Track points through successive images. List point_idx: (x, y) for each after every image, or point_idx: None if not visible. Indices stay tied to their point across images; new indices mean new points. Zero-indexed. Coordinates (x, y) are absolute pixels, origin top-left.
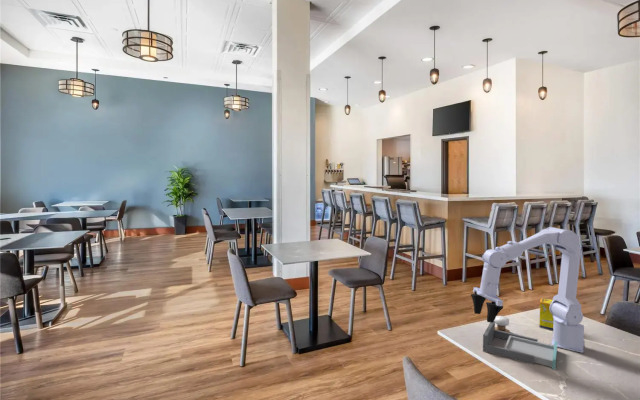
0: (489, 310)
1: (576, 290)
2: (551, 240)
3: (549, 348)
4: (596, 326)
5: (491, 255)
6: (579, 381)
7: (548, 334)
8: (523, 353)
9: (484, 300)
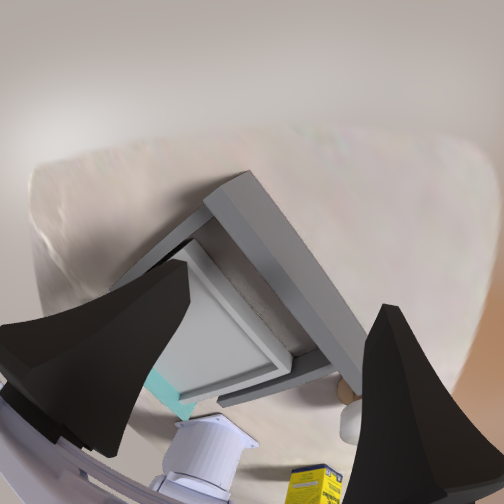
0: (67, 314)
1: None
2: None
3: (187, 390)
4: (275, 500)
5: None
6: (65, 300)
7: (282, 451)
8: (130, 280)
9: (350, 484)
